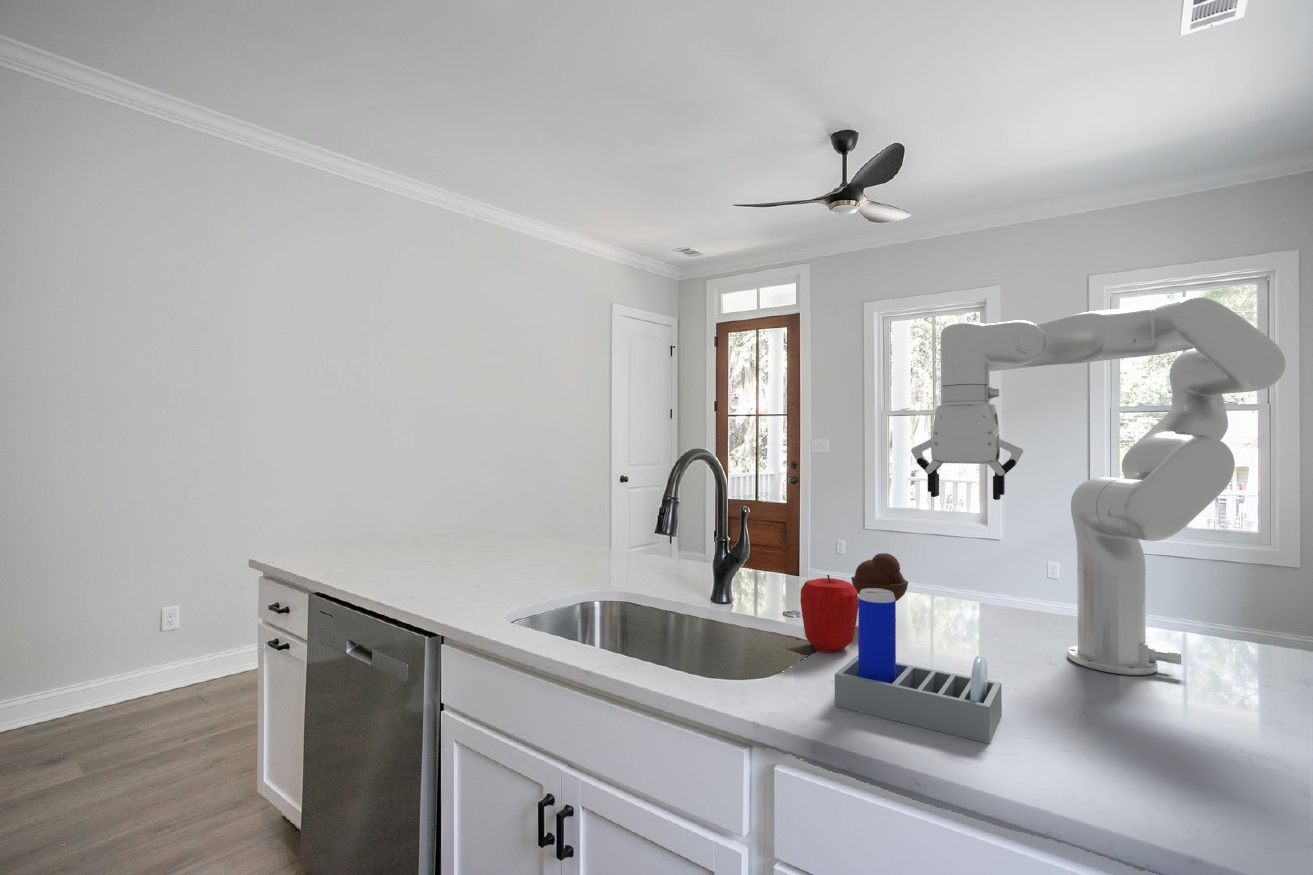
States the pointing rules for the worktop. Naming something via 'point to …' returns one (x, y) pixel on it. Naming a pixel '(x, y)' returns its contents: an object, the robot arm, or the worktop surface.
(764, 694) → the worktop surface
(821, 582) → the apple
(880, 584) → the ice cream bowl
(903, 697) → the dish rack
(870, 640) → the beverage can
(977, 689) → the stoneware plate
